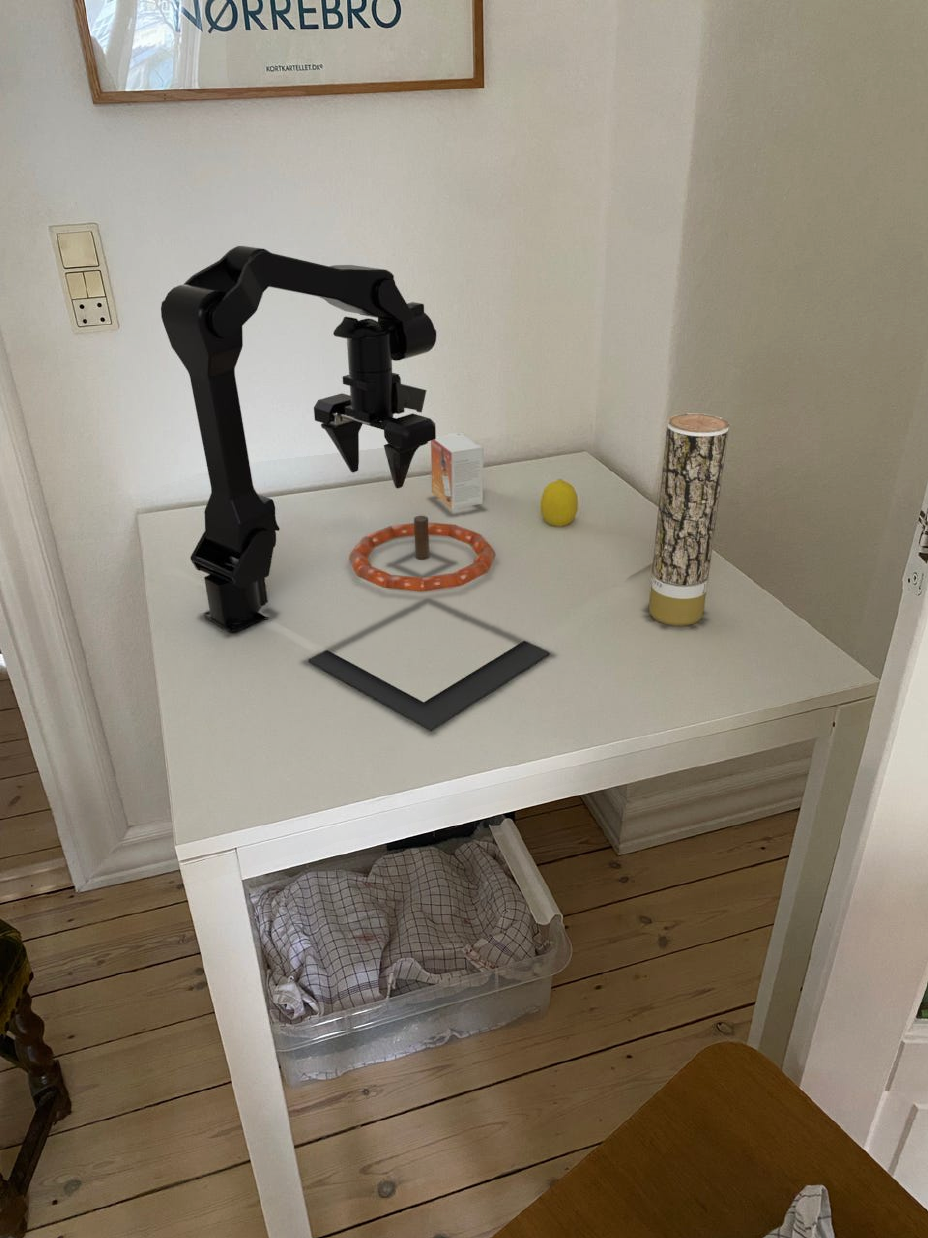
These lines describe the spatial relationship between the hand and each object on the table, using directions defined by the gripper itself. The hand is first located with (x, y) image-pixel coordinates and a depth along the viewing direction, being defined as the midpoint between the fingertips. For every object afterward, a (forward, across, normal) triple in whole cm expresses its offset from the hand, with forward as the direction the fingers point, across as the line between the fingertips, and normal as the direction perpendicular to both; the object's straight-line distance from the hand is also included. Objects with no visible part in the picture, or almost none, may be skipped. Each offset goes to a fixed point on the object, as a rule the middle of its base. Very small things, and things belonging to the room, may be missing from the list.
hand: (376, 479), depth 129 cm
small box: (+10, +2, -19) cm, 22 cm away
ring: (+9, -9, 0) cm, 13 cm away
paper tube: (+11, -43, -11) cm, 45 cm away
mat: (+11, -27, +17) cm, 33 cm away
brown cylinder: (+10, -9, 0) cm, 14 cm away
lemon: (+10, -16, -22) cm, 29 cm away
